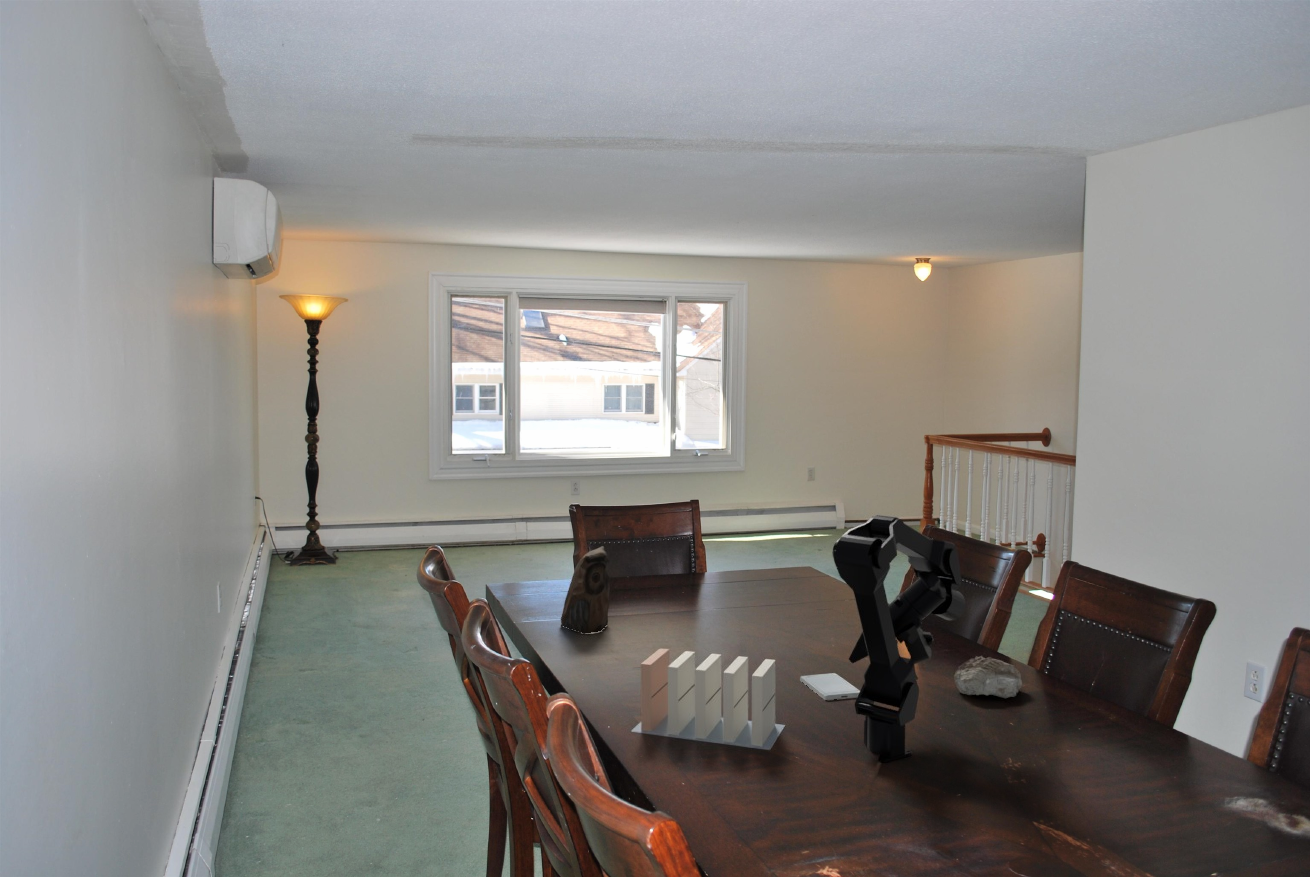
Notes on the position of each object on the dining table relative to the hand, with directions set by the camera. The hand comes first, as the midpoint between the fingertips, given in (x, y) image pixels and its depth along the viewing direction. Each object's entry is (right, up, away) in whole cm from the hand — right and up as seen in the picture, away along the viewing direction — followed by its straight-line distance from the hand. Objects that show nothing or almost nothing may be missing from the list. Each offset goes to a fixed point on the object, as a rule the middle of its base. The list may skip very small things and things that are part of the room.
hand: (851, 659), depth 174 cm
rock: (+31, -11, +16) cm, 36 cm away
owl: (-53, -8, +67) cm, 86 cm away
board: (-26, -12, -5) cm, 29 cm away
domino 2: (-31, -11, -3) cm, 33 cm away
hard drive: (0, -11, +19) cm, 22 cm away
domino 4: (-22, -11, -6) cm, 25 cm away
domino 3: (-26, -11, -5) cm, 29 cm away
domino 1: (-36, -11, -1) cm, 37 cm away
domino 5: (-17, -11, -8) cm, 22 cm away
